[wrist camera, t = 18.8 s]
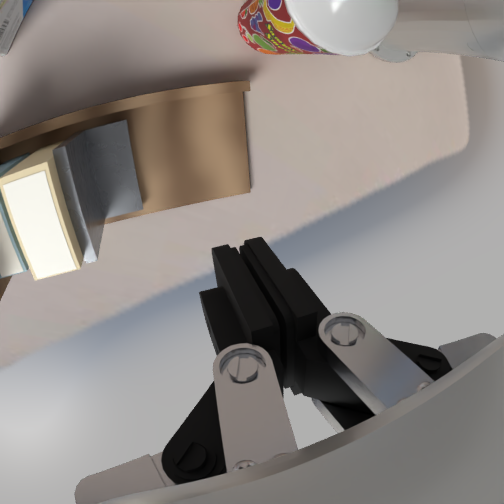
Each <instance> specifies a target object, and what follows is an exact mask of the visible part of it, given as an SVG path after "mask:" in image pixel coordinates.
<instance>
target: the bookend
mask: <svg viewBox="0 0 504 504" xmlns="http://www.w3.org/2000/svg"><path fill="white" fill-rule="evenodd" d="M52 151H53V156H54V160H55V164H56V169H57V173H58V177H59V180H60V184H61V188H62V192H63V195H64V199H65V202H66V206H67V209H68V212H69V216H70V219H71V222H72V225H73V228H74V231H75V234H76V237H77V240H78V243H79V246H80V249H81V252H82V254H83V257H84V260H85V263H90V262H94V261H97V260H98V254H99V249H100V243H101V238H102V233H103V228H104V223H105V219H106V218H110V217H114V216H118V215H122V214H127V213H131V212H135V211H139V210H143V203H142V198H141V193H140V189H139V184H138V179H137V174H136V169H135V163H134V158H133V153H132V147H131V141H130V135H129V129H128V123H127V119H125V120H121V121H117V122H113V123H109V124H105V125H101V126H97V127H93V128H90V129H86V130H82V131H79V132H76V133H75V134H73V135H72V136H71V137H69V138H68V139H66V140H65V141H64V142H62V143H61V144H60V145H58V146H57V147H56V148H54V149H53V150H52Z"/></svg>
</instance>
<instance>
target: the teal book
mask: <svg viewBox="0 0 504 504" xmlns="http://www.w3.org/2000/svg"><path fill="white" fill-rule="evenodd" d="M28 156H30V154H29V153H26V154H24V155H21V156H18V157H16V158H13V159H10V160H8V161H5V162H4V163H2V164H1V165H0V177H1V176H3V175H4V174H5V173H7V172H8V171H9V170H11V169H12V168H13V167H15V166H16V165H17V164H19V163H20V162H21V161H23V160H24V159H25V158H27V157H28ZM28 268H29V266H28V263H27V261H26V259H25V256H24V254H23V252H22V249H21V247H20V244H19V242H18V239H17V236H16V234H15V231H14V228H13V226H12V223H11V220H10V217H9V214H8V211H7V208H6V205H5V202H4V199H3V196H2V193H1V189H0V279H1V278H4V277H8V276H12V275H15V274H19V273H22V272H26V271H27V270H28Z"/></svg>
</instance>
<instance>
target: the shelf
mask: <svg viewBox="0 0 504 504" xmlns="http://www.w3.org/2000/svg"><path fill="white" fill-rule="evenodd" d="M244 91H250V81H234V82H223V83H214V84H206V85H198V86H191V87H184V88H177V89H171V90H165V91H160V92H154V93H149V94H144V95H139V96H134V97H129V98H125V99H121V100H116V101H112V102H108V103H104V104H100V105H96V106H93V107H89V108H85V109H82V110H78V111H75V112H72V113H68V114H65V115H62V116H59V117H56V118H52V119H49V120H47V121H44V122H41V123H38V124H35V125H32V126H30V127H27V128H24V129H22V130H19V131H16V132H14V133H11V134H9V135H6V136H4V137H2V138H0V165H1V164H2V163H4V162H5V161H8V160H10V159H13V158H16V157H18V156H21V155H24V154H26V153H29V154H30V155H31V154H33V153H34V152H35V151H37V150H38V149H40V148H41V147H44V146H47V145H50V144H53V143H56V142H60V141H63V140H66V139H68V138H69V137H71V136H72V135H73V134H75V133H76V132H79V131H82V130H86V129H90V128H93V127H97V126H101V125H105V124H109V123H113V122H117V121H121V120H125V119H127V123H128V129H129V135H130V141H131V147H132V153H133V158H134V163H135V169H136V174H137V179H138V184H139V189H140V193H141V198H142V203H143V210H139V211H135V212H131V213H127V214H122V215H118V216H114V217H110V218H106V219H105V223H104V224H108V223H112V222H116V221H120V220H124V219H128V218H132V217H137V216H141V215H145V214H149V213H154V212H158V211H162V210H167V209H171V208H176V207H180V206H185V205H190V204H194V203H199V202H204V201H209V200H214V199H219V198H224V197H229V196H234V195H239V194H244V193H250V180H249V167H248V154H247V141H246V128H245V115H244V103H243V92H244ZM11 277H12V276H8V277H4V278H1V279H0V300H1V298H2V296H3V294H4V291H5V289H6V287H7V285H8V283H9V281H10V279H11Z"/></svg>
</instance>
